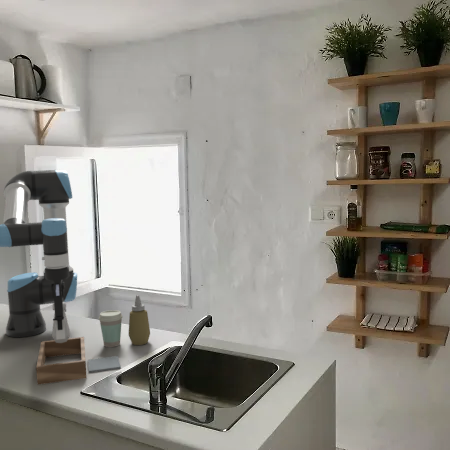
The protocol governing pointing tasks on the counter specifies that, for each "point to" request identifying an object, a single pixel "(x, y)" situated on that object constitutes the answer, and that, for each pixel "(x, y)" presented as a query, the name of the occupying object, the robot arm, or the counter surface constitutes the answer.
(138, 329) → the squeeze bottle
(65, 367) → the crate
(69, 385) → the counter surface
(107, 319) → the coffee cup
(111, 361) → the mat
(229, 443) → the counter surface
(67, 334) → the salt shaker
